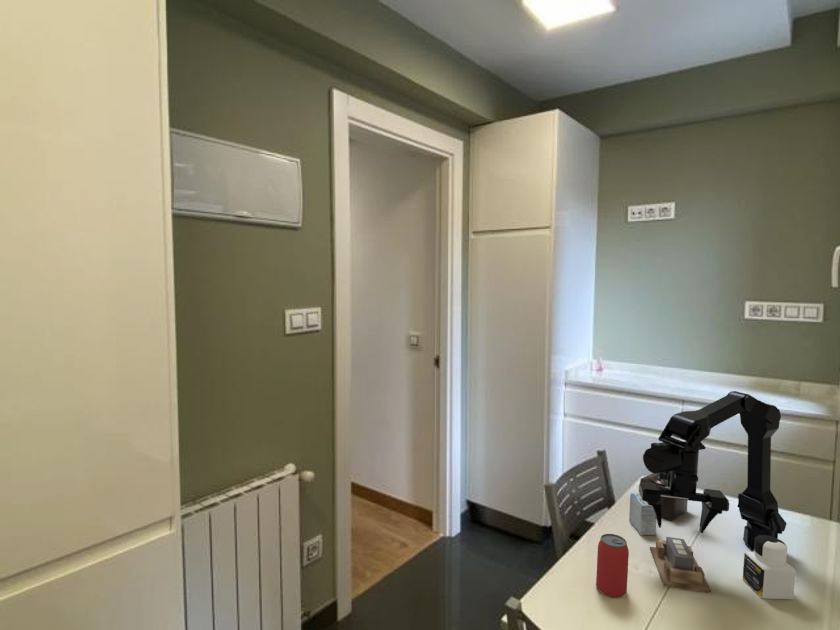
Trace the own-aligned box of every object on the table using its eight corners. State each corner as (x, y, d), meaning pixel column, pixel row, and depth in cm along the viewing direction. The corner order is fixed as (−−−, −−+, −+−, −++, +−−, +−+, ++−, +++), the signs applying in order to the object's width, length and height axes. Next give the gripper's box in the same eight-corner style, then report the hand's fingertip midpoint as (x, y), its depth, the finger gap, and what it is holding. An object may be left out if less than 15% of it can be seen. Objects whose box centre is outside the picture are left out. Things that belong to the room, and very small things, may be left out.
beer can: (623, 603, 109) (626, 551, 108) (592, 592, 112) (595, 542, 111) (629, 587, 114) (631, 537, 113) (599, 577, 118) (601, 529, 117)
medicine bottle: (741, 579, 118) (745, 531, 117) (772, 580, 118) (776, 532, 116) (761, 599, 111) (765, 547, 110) (794, 600, 110) (798, 548, 109)
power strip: (682, 557, 125) (683, 538, 125) (692, 579, 117) (693, 558, 116) (665, 555, 126) (666, 536, 126) (674, 576, 118) (675, 555, 117)
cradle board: (691, 554, 128) (692, 542, 128) (711, 593, 112) (712, 579, 112) (649, 548, 130) (650, 537, 130) (663, 585, 115) (664, 572, 115)
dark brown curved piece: (636, 508, 153) (639, 451, 151) (654, 499, 160) (657, 444, 158) (687, 529, 141) (691, 468, 139) (705, 518, 147) (709, 459, 146)
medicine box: (656, 535, 137) (657, 505, 136) (639, 535, 137) (641, 505, 136) (643, 521, 145) (645, 492, 144) (628, 521, 145) (630, 492, 144)
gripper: (716, 459, 125) (712, 519, 126) (636, 451, 129) (633, 509, 131) (732, 477, 114) (727, 542, 115) (644, 467, 118) (641, 530, 120)
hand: (680, 529), depth 120 cm, fingers open, 9 cm apart
